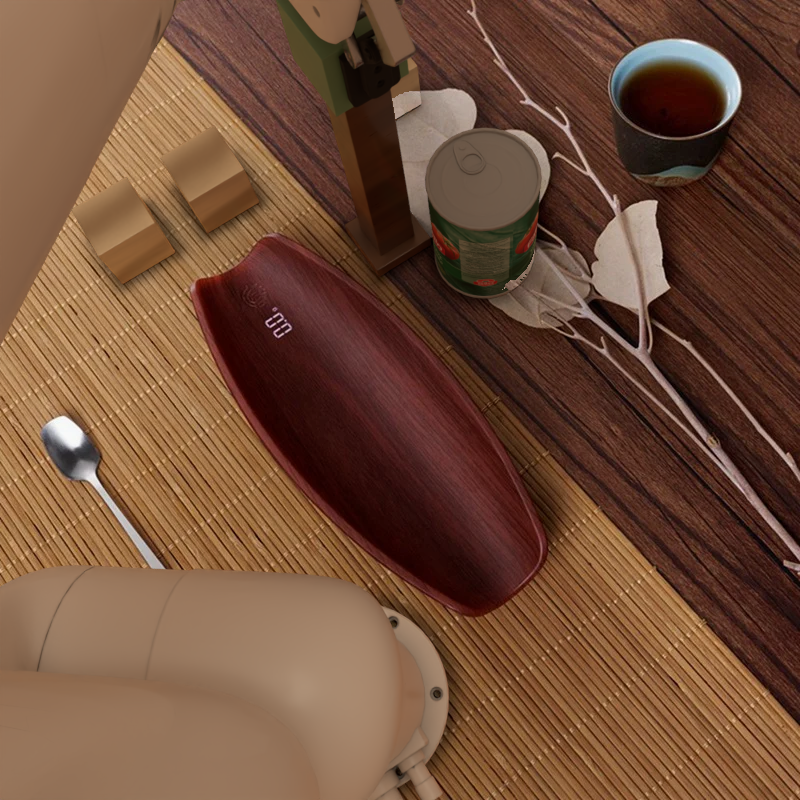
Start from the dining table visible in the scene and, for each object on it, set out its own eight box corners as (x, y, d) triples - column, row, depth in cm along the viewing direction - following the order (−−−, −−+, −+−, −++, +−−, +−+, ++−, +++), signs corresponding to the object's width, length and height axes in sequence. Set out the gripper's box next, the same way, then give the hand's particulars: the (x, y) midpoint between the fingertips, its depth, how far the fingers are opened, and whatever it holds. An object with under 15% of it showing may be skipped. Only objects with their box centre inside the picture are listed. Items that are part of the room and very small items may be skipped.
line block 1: (175, 252, 75) (154, 222, 71) (122, 284, 75) (97, 256, 70) (148, 208, 77) (126, 176, 72) (96, 239, 76) (70, 209, 72)
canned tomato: (554, 269, 72) (564, 194, 61) (465, 316, 71) (461, 249, 61) (502, 192, 74) (504, 108, 64) (416, 237, 74) (404, 160, 63)
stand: (431, 245, 73) (409, 73, 54) (379, 277, 73) (336, 117, 53) (398, 199, 75) (364, 17, 55) (346, 231, 74) (293, 59, 55)
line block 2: (259, 202, 76) (244, 169, 71) (207, 233, 76) (188, 202, 71) (230, 159, 78) (213, 124, 73) (179, 190, 77) (159, 156, 72)
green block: (409, 73, 54) (401, 12, 49) (336, 117, 53) (321, 59, 48) (364, 17, 55) (352, -48, 50) (293, 59, 55) (274, -2, 50)
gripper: (104, -323, 39) (223, -5, 56) (309, -67, 33) (371, 197, 50) (257, -404, 39) (329, -66, 56) (482, -167, 34) (485, 127, 51)
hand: (348, 56), depth 53 cm, fingers closed on green block, 5 cm apart
